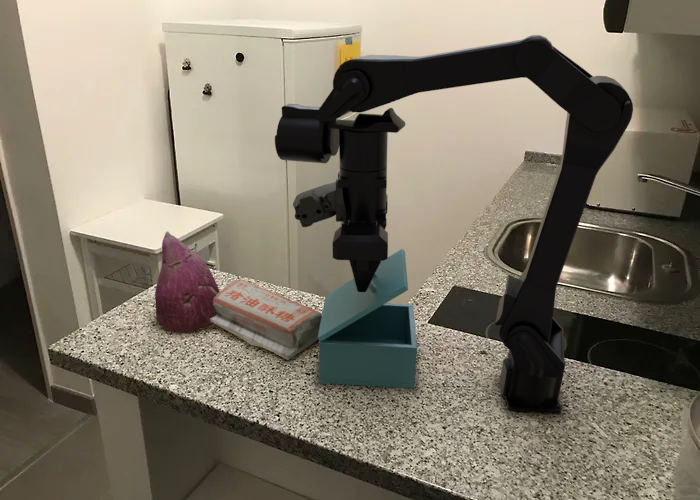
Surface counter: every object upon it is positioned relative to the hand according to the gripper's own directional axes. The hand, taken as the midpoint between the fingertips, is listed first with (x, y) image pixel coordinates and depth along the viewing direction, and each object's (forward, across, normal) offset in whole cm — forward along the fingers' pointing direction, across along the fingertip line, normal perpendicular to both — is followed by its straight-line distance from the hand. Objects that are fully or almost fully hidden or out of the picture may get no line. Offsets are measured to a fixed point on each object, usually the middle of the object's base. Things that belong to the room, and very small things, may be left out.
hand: (362, 282), depth 76 cm
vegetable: (+11, -9, -27) cm, 31 cm away
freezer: (+12, 0, +1) cm, 12 cm away
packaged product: (+12, -7, -15) cm, 20 cm away
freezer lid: (+2, 0, 0) cm, 2 cm away
